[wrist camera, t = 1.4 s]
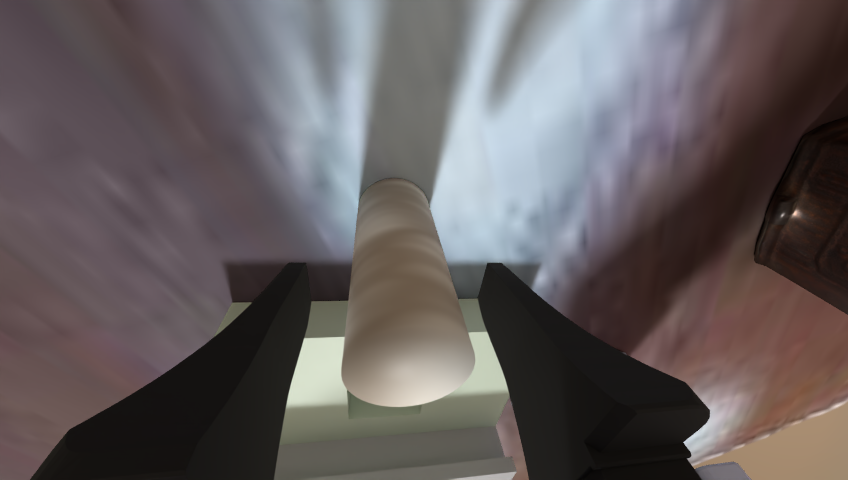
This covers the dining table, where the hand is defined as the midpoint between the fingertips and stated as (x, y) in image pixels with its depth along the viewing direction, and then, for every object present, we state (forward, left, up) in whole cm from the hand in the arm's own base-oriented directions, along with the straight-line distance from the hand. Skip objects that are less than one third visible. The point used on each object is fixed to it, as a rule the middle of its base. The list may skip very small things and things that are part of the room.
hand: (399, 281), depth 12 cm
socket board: (0, +14, -6) cm, 15 cm away
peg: (0, 0, -6) cm, 6 cm away
